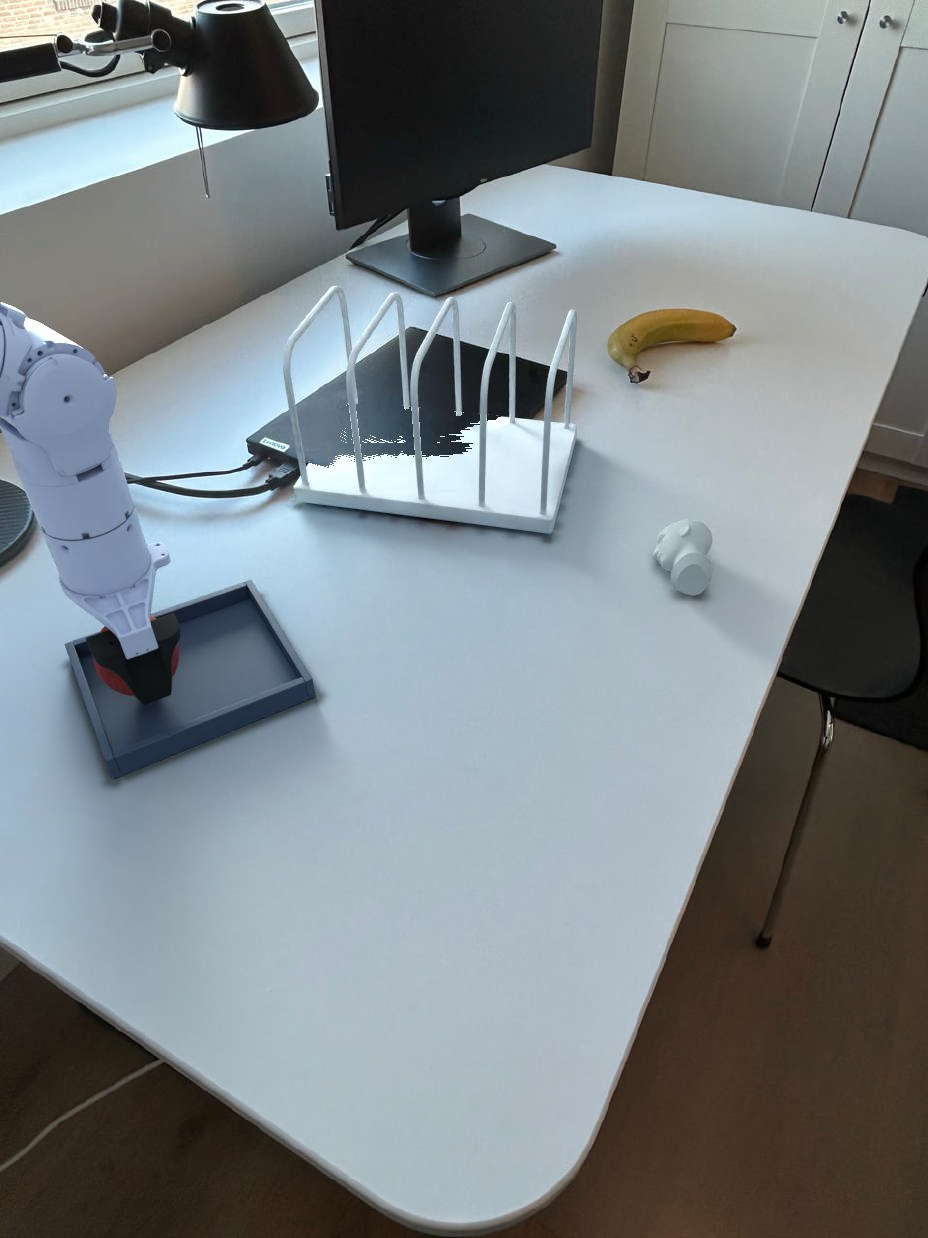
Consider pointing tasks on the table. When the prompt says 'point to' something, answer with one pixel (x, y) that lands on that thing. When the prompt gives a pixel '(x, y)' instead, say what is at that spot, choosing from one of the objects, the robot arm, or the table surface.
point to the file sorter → (462, 483)
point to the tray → (198, 681)
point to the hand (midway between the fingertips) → (141, 663)
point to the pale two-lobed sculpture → (685, 555)
